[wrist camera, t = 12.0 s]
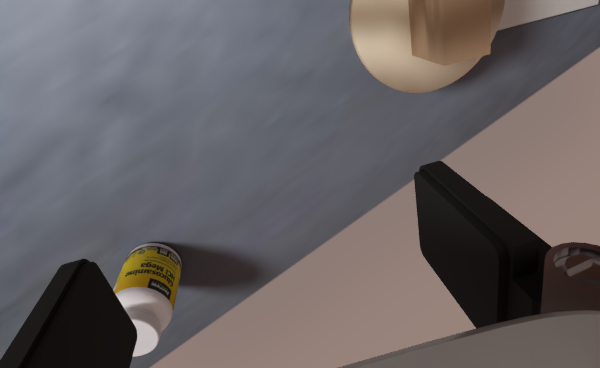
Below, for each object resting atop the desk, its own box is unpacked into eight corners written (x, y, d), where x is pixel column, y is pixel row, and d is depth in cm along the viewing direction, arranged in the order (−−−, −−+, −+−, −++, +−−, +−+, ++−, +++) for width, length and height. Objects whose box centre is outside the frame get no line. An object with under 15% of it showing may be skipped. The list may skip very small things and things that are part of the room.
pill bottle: (188, 247, 43) (175, 319, 34) (175, 287, 46) (159, 366, 36) (132, 235, 42) (101, 308, 32) (121, 277, 44) (89, 358, 34)
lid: (337, -62, 28) (363, -76, 22) (502, -101, 28) (568, -125, 23) (360, 106, 34) (385, 128, 28) (496, 71, 34) (547, 85, 29)
